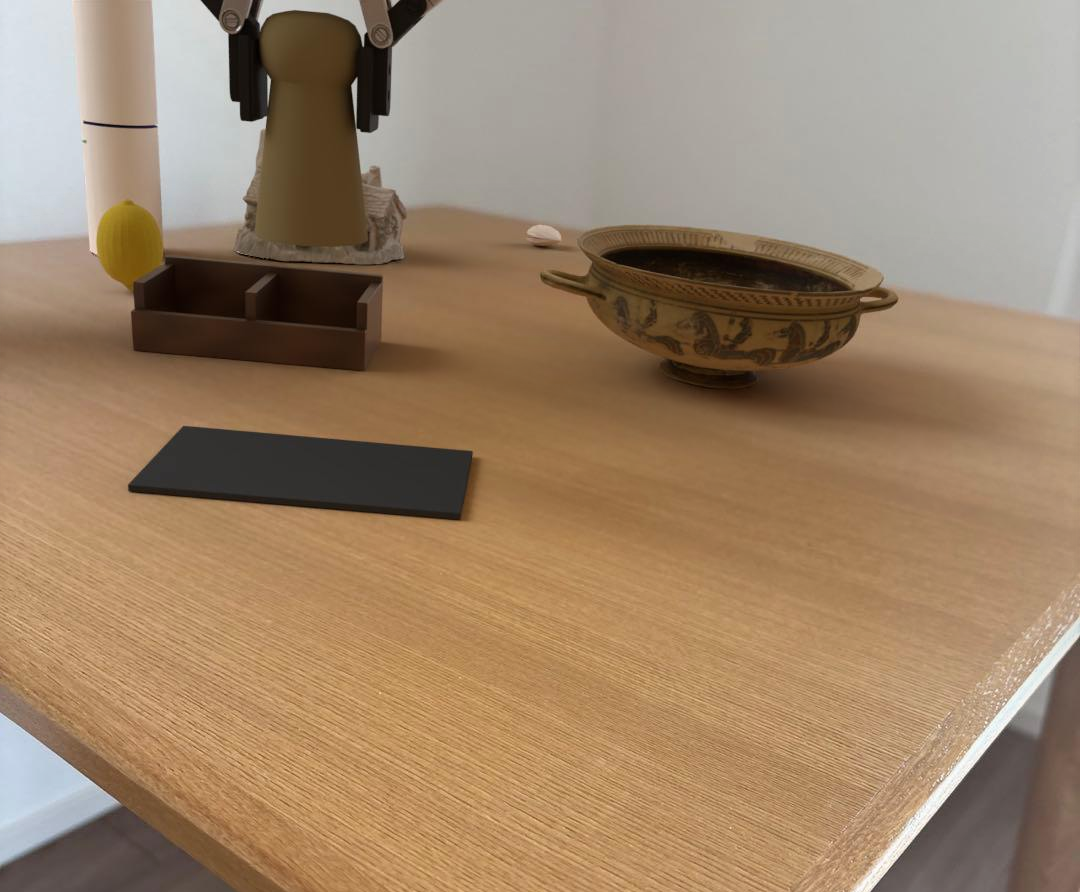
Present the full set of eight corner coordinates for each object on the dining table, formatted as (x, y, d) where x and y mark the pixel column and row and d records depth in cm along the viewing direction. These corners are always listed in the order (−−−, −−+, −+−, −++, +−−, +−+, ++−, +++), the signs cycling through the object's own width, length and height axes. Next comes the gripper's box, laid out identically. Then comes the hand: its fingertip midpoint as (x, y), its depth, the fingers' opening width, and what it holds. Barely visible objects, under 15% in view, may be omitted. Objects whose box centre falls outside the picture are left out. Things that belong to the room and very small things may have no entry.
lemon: (139, 301, 98) (134, 206, 95) (86, 291, 100) (79, 198, 97) (177, 290, 103) (173, 200, 100) (126, 281, 105) (120, 192, 101)
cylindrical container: (121, 262, 112) (103, -18, 101) (74, 250, 115) (53, -23, 105) (178, 255, 117) (167, -12, 107) (132, 243, 121) (117, -17, 110)
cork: (333, 251, 57) (334, 13, 53) (231, 235, 59) (224, 3, 55) (387, 236, 63) (393, 18, 58) (292, 221, 64) (291, 9, 60)
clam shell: (544, 242, 144) (546, 222, 143) (571, 250, 141) (573, 229, 140) (519, 244, 141) (521, 223, 140) (546, 251, 138) (548, 230, 137)
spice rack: (132, 350, 85) (128, 277, 83) (170, 322, 93) (167, 254, 91) (364, 371, 85) (366, 298, 83) (381, 340, 94) (383, 274, 91)
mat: (127, 491, 61) (127, 484, 61) (183, 431, 70) (183, 425, 70) (460, 519, 61) (460, 513, 61) (472, 456, 71) (472, 450, 70)
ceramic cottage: (212, 245, 122) (218, 98, 116) (321, 238, 135) (332, 105, 129) (315, 281, 115) (328, 127, 109) (420, 270, 128) (436, 132, 122)
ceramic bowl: (562, 418, 79) (577, 275, 75) (506, 330, 100) (515, 215, 96) (949, 427, 85) (982, 295, 81) (819, 343, 107) (840, 235, 103)
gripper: (504, -261, 55) (479, 134, 62) (149, -298, 54) (167, 105, 62) (497, -303, 48) (470, 147, 55) (91, -345, 47) (119, 114, 55)
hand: (311, 121), depth 58 cm, fingers closed on cork, 5 cm apart
